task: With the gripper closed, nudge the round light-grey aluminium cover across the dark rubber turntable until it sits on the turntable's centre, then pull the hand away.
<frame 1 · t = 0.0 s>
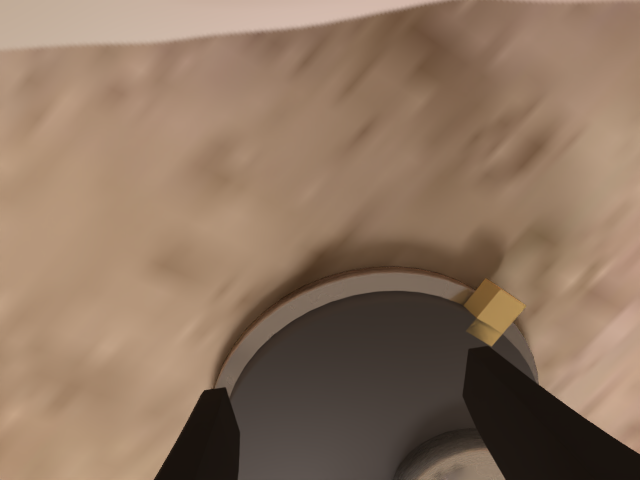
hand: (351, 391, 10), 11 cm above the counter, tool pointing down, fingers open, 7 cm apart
turntable: (391, 428, 22), point 2 cm above the counter, hinge at 0.0°, touching cover
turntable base: (374, 415, 24), on the counter
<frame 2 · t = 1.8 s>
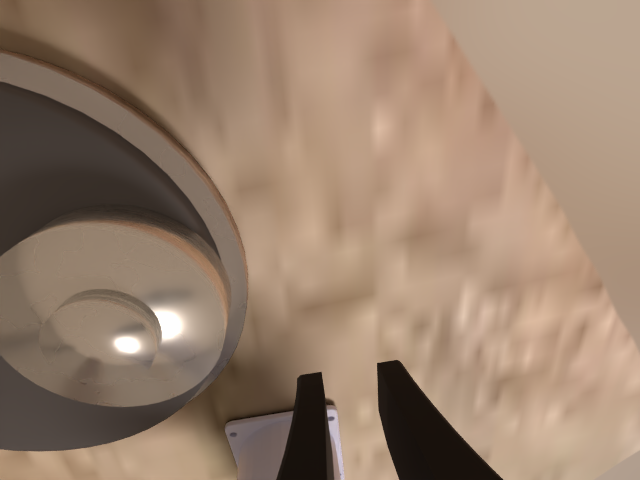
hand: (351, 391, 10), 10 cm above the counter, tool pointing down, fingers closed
cover: (133, 294, 16), point 3 cm above the counter, touching turntable
turntable: (0, 286, 16), point 2 cm above the counter, hinge at 0.0°, touching cover
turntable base: (36, 280, 18), on the counter
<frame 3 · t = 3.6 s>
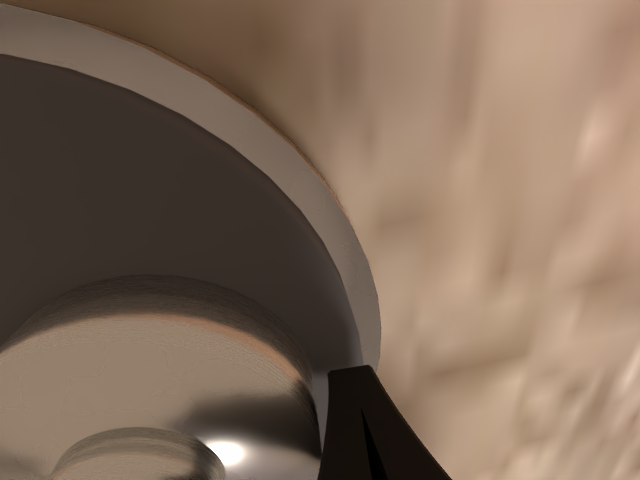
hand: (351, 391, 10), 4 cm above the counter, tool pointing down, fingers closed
cover: (171, 395, 11), point 3 cm above the counter, touching gripper, turntable
turntable: (45, 373, 11), point 2 cm above the counter, hinge at 0.0°, touching cover
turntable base: (88, 350, 13), on the counter
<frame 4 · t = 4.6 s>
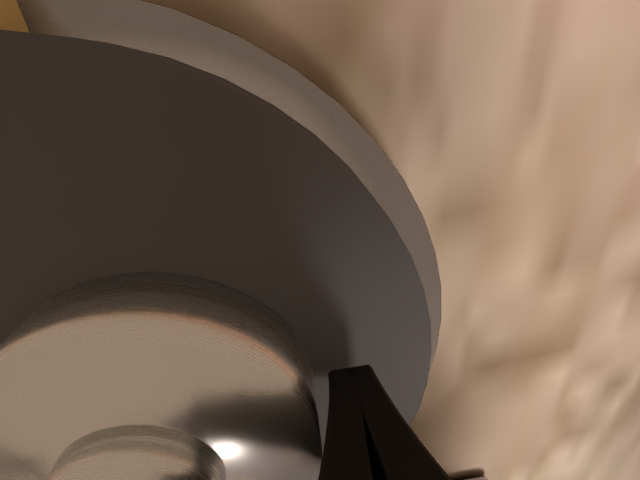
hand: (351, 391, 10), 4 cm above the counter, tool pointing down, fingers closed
cover: (171, 394, 11), point 3 cm above the counter, touching gripper, turntable
turntable: (117, 361, 11), point 2 cm above the counter, hinge at 0.0°, touching cover
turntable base: (148, 340, 13), on the counter
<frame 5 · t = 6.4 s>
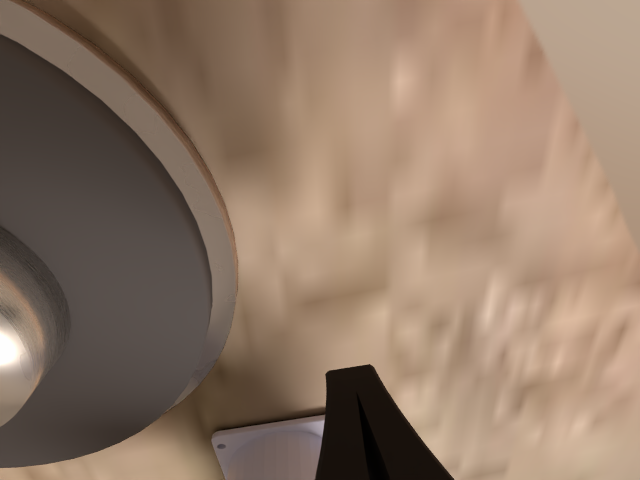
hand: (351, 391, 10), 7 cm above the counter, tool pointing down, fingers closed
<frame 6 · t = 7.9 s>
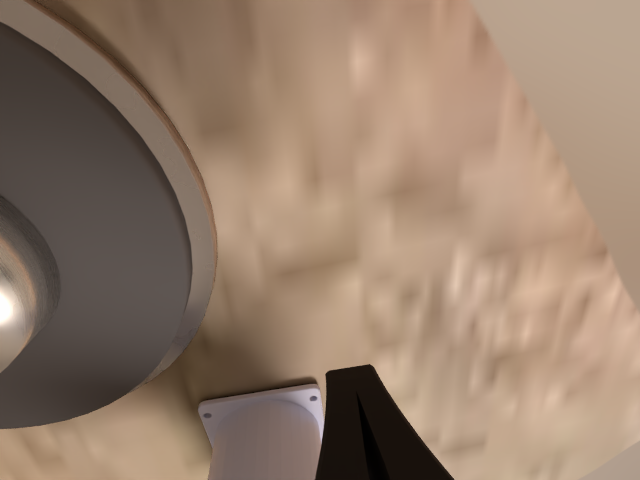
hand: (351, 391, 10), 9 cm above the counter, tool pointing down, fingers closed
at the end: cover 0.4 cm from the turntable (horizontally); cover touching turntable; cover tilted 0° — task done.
